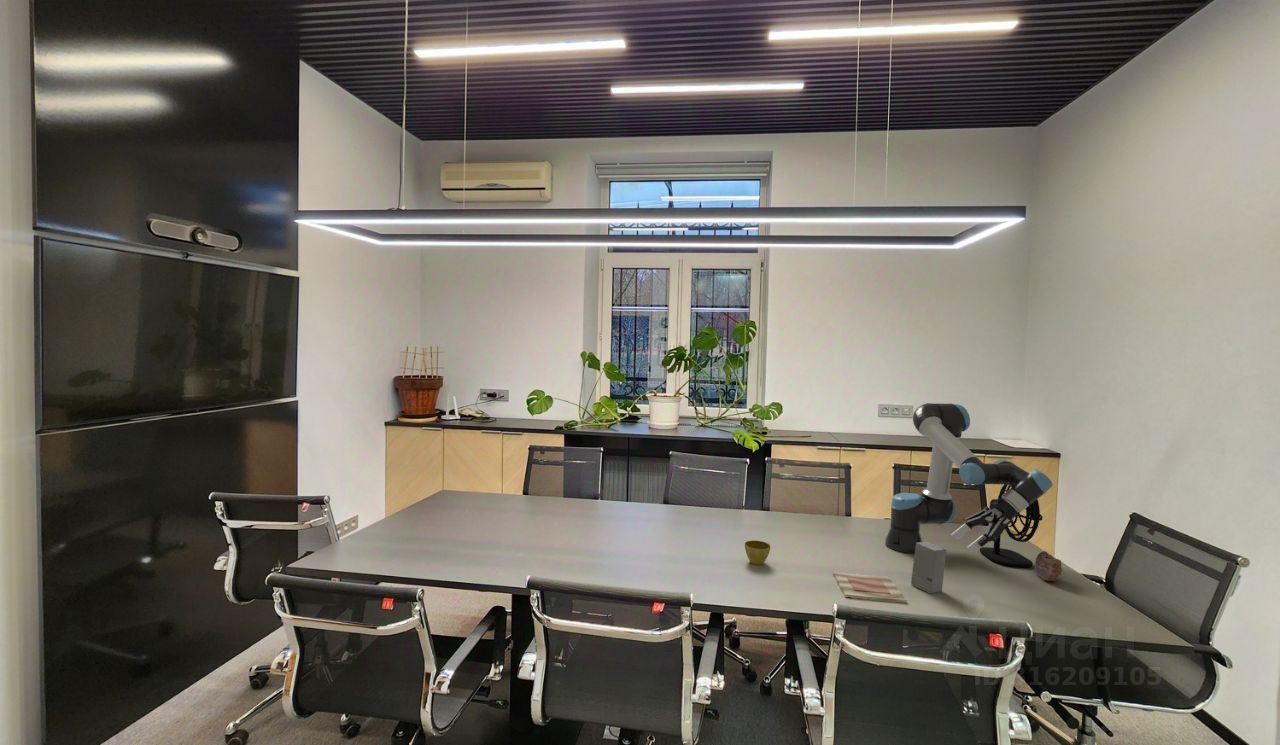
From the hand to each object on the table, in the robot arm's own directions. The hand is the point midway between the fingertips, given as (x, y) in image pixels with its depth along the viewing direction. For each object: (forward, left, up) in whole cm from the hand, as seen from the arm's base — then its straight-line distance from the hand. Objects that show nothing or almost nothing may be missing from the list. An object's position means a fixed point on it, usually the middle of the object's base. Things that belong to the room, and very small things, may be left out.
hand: (961, 543), depth 199 cm
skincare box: (0, -11, -17) cm, 20 cm away
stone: (-20, +41, -17) cm, 49 cm away
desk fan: (-40, +35, -17) cm, 56 cm away
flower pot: (-11, -71, -17) cm, 74 cm away
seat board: (+5, -33, -17) cm, 37 cm away
